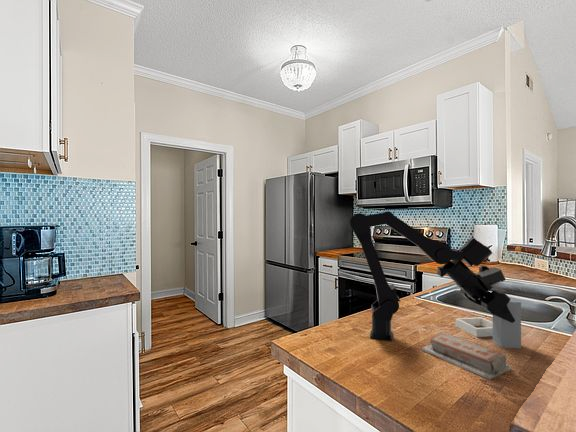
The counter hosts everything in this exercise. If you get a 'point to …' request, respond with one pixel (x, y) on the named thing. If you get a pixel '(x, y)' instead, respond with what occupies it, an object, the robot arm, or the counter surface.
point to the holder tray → (469, 324)
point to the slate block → (508, 327)
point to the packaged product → (468, 355)
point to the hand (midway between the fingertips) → (504, 316)
